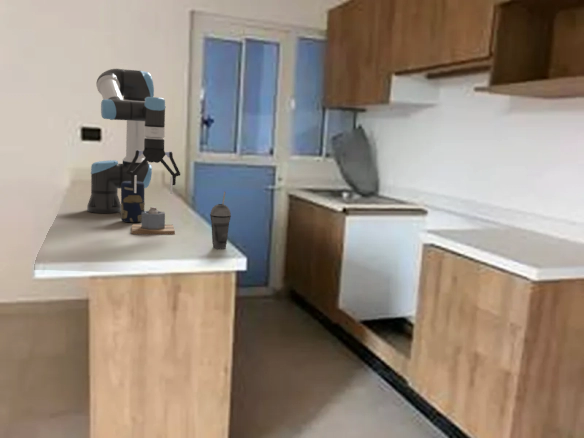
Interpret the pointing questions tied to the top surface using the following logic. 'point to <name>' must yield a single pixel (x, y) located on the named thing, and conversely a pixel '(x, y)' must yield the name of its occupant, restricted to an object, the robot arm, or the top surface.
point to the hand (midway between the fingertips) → (153, 193)
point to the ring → (153, 220)
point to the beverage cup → (220, 225)
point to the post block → (138, 230)
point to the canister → (132, 201)
